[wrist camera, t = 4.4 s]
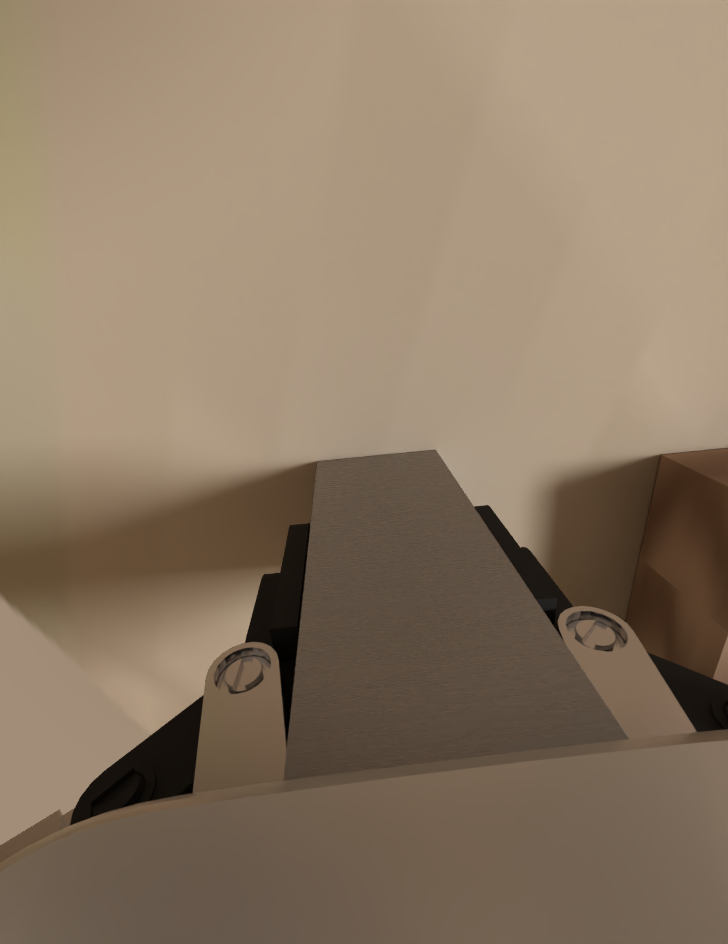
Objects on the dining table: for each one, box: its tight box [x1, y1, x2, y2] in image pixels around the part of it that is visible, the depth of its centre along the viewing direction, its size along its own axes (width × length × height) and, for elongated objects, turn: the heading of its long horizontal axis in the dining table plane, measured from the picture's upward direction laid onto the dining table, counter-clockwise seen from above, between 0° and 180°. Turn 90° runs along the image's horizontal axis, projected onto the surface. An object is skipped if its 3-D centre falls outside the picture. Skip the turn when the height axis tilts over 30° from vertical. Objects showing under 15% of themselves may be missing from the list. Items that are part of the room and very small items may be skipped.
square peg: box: [283, 450, 629, 781], centre depth 10 cm, size 4×4×10 cm
